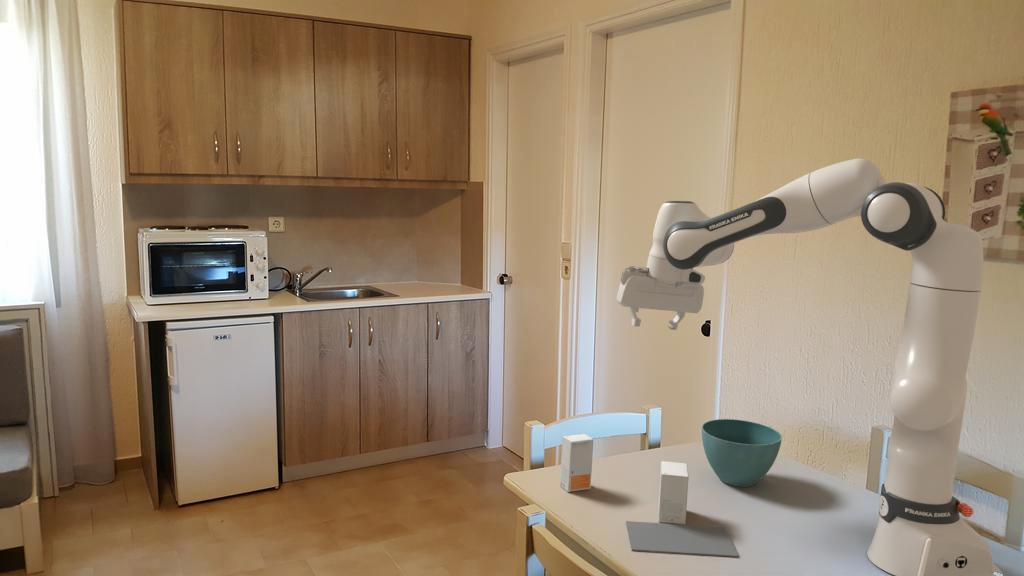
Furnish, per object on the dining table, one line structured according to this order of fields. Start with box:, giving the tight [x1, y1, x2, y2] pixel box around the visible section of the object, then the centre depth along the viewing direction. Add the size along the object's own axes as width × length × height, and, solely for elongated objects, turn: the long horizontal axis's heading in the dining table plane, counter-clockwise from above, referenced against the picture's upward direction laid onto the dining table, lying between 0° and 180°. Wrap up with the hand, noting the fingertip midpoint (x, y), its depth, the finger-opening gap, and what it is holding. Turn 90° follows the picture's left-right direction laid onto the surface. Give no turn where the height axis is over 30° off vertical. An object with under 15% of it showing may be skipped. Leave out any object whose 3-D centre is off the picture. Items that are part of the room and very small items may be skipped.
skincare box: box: [559, 433, 594, 493], centre depth 167 cm, size 6×4×12 cm
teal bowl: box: [701, 418, 783, 488], centre depth 175 cm, size 18×18×12 cm
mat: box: [625, 520, 739, 558], centre depth 145 cm, size 20×12×1 cm, turn 87°
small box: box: [658, 460, 689, 525], centre depth 155 cm, size 8×6×10 cm
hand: (654, 327), depth 171 cm, fingers open, 8 cm apart
